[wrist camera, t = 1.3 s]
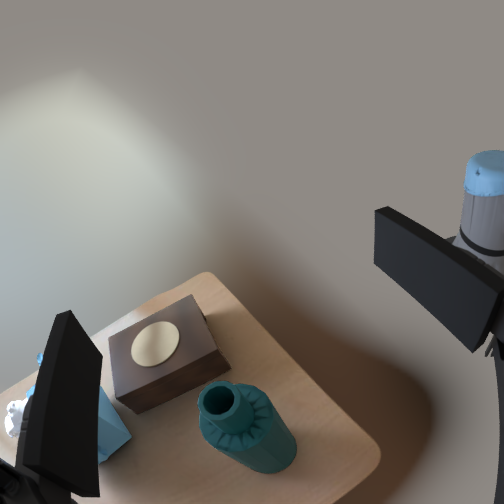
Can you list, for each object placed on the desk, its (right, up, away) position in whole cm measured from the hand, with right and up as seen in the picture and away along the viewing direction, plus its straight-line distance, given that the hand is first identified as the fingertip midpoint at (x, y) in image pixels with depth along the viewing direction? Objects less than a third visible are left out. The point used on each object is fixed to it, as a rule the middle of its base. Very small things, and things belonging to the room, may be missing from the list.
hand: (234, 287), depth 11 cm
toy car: (-47, -35, +29) cm, 66 cm away
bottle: (+3, -24, +20) cm, 32 cm away
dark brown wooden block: (-13, -18, +36) cm, 42 cm away
